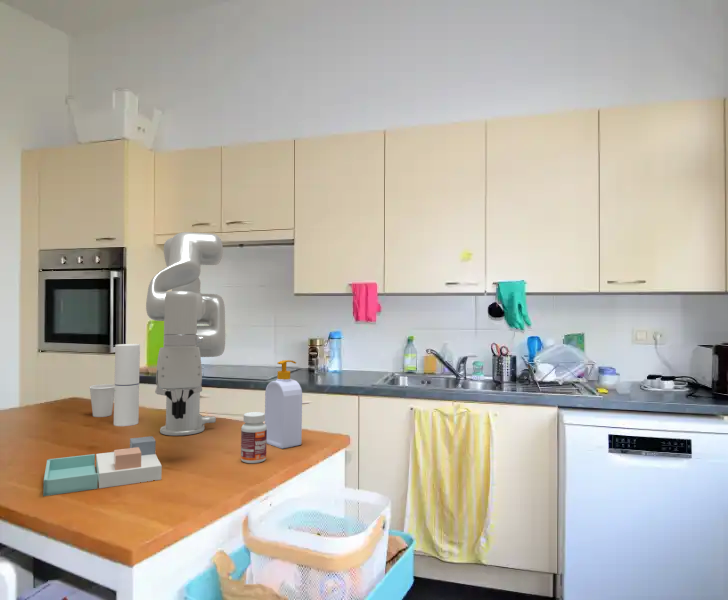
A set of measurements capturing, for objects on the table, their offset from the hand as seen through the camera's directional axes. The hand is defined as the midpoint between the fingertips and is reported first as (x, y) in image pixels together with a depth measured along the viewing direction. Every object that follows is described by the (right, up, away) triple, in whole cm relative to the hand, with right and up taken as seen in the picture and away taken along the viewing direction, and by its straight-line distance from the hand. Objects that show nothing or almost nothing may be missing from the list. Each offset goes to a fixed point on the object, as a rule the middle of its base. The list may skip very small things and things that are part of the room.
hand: (178, 417), depth 124 cm
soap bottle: (+23, -11, +18) cm, 31 cm away
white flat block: (-8, -10, -9) cm, 16 cm away
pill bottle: (+18, -11, +2) cm, 21 cm away
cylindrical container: (-31, -11, +39) cm, 51 cm away
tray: (-18, -10, -14) cm, 25 cm away
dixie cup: (-44, -11, +51) cm, 68 cm away
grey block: (-7, -7, -3) cm, 11 cm away
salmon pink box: (-6, -7, -13) cm, 16 cm away
